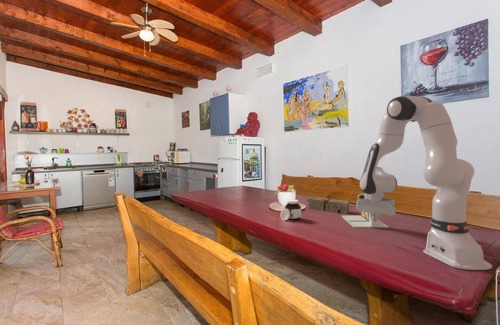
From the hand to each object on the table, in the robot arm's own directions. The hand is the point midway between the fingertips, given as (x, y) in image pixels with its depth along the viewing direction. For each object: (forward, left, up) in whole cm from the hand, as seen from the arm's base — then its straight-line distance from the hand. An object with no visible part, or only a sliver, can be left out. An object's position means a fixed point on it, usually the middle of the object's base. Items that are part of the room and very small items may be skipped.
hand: (375, 221), depth 146 cm
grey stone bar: (+40, +17, -4) cm, 44 cm away
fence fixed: (+16, -1, -3) cm, 16 cm away
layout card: (+11, +3, -3) cm, 12 cm away
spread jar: (+16, +45, -3) cm, 48 cm away
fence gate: (+3, +1, -2) cm, 4 cm away
